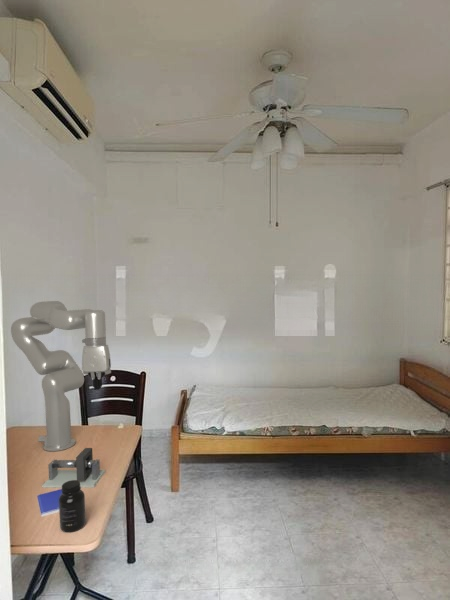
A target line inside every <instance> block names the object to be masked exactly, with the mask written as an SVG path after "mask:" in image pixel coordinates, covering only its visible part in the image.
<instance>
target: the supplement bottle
mask: <svg viewBox="0 0 450 600" xmlns="http://www.w3.org/2000/svg"><path fill="white" fill-rule="evenodd" d="M81 488H82V487H81V486H80V482H79V481H78V480H71V481H68V482H65V483H64V484H63V485H62V487H61V489H62V494H61V495H60V497H59V512H58V514H59V527H60V530H61V532H64V533H76V532H77V531H79V530H81V529H83V528H84V527H85V525H86V522H87V517H86V515H87V514H86V498H85V497H86V496H85V492H84V491H83V490H82V489H81Z"/></svg>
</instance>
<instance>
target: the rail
mask: <svg viewBox="0 0 450 600" xmlns="http://www.w3.org/2000/svg"><path fill="white" fill-rule="evenodd" d="M100 463H101V462H100V459H98V458H97V459H93V460H85V466H86V468H92V480H96V479H97V478H98V477H99V475H100V470H101V464H100ZM47 465H48V467H47V469H48V479H49V480H53V479H54V478H55V477H56V476H57V475H58V470H59V469H76V459H63V460H62V459H52V461H51V462H50V463H48V464H47Z"/></svg>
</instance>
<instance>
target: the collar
mask: <svg viewBox="0 0 450 600" xmlns="http://www.w3.org/2000/svg"><path fill="white" fill-rule="evenodd" d="M75 460H76V468H75V470H77V480H78V481H85V479H86V478H87V477H88V476H89V474H90V473H91V472H92V468H86V466H85V460H94V458H93V448H92V447H85V448H84V449H83V450H81V452H80V453H79V454H78V455H77V456H76V457H75Z"/></svg>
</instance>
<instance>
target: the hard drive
mask: <svg viewBox="0 0 450 600" xmlns="http://www.w3.org/2000/svg"><path fill="white" fill-rule="evenodd" d="M61 494H62V488H59V489H57V490H53V491H49V492H48V491H47V492H44V493H41V494H38V495H36V498H37V503H38V507H39V511H40V516H41V518H42V517H46V516H50V515H52V514H56V513H59V497H60V495H61Z"/></svg>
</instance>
